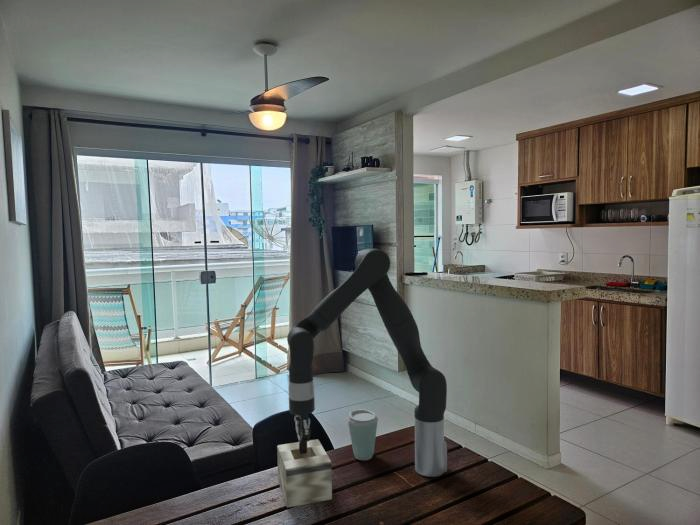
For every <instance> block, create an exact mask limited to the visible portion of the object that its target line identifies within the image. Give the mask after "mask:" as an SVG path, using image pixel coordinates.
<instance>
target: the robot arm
mask: <svg viewBox="0 0 700 525" xmlns="http://www.w3.org/2000/svg"><path fill="white" fill-rule="evenodd" d="M354 261H355V262H354V264H355V270H354V271H353V272H352V273H351V275H349V277H348V278H347V279H346V280H344V282H342V283H341V284H340V285H338V287H336V288H335V289H334V290H332V291H330V292H329V293H328V294H327V295H326V296H325V297H324V298H323V299H322V300H321V301H320V302H319V303H318V304H317V305H316V306H315V307H314V308H313V309H312V310H311V311H310V312H309V314H307V315H306V316H304V318H302V319H300V321H299V322H298V323H297V324H295V325H294V326H293V327H292V328H291V329H290V331H289V332H288V334H287V337H286V339H287V344H288V346H289V353H290V354H289V355H290V358H289V359H290V362H289V364H288V365H289V366H288V374H289V376H288V378H289V380H288V382H289V384H288V408H289V409H288V410H289V413H290V414H291V415H294V417H293V419H294V423H295V431H296V435H297V439H298V442H299V452H300V454H306V453H307V441H310V440H311V439H310V437H311V433H312V429H311V427H310V426H311V418H310V417H309V415H310V414H312V413H314V411H315V409H316V408H315V407H316V406H315V402H316V401H315V385H314V368H313V367H314V366H313V362H314V352H315V351H314V349H315V346H314V344H315V341H314V339H315V338H316V337H317V336H318V335H319V334H320V333H321V332H325V331H327V329H329V327H331V326H332V325H333V323H334V322H336V320H337V319H338V318H340V316H341V315H342V314H343V313H344V311H346V310H347V308H349V306H351V304H353V303H354V301H356V299H358V298H359V297H360V296H361V295H362V294H363V293H365V291H367V290H369V293H370V294H371V297H372V299H373V301H374V304H375V306H376V309H377V311H378V314H379V316H380V319H381V320H382V322H383V324H384V327H385V329H386V331H387V334H388V335H389V337H390V339H391V341H392V343H393V344H394V347H395V349H396V351H397V352H398V354H399V356H400V357H401V359H402V361H403V364H404V366H405V369H406V372H407V376H408V378H409V381H410V383H411V385H412V388H414V390H415V391H417V393H418V405H416V406H415V407H414V470H415V472H416V473H417V474H419V475H421V476H422V477H423V476H424V477H435V478H436V477H440V476H442V475H443V474H444V473H447V472H448V465H447V463H448V455H447V454H448V450H447V449H448V446H447V441H446V440H445V412H446V409H447V391H448V389H447V388H448V385H447V379H446V376H445V375H444V373H443V372H441V371H440V370H438V369H436V368H435V367H433V366H432V364H431V363H430V361H429V360H428V358H427V356H426V354H425V352H424V350H423V348H422V344H421V340H420V339H421V338H420V332H419V327H418V324H417V321H416V320H415V318H414V315H413V314H412V311H411V309H410V307H409V306H408V305H407V303H406V302H405V300H404V299H403V297H402V296H401V295H400V294H399V292H398V291H397V290H396V288H395V287H394V286H393V284H392V282H391V280H390V278H389V276H388V272H389V270H390V267H391V259H390V256H389V255H388V254H387V253H386V252H385V251H384V250H382V249H378V248H364V249H362V250H360V251H358V253H357V255H356V257H355V260H354Z"/></svg>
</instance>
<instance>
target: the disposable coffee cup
mask: <svg viewBox="0 0 700 525" xmlns="http://www.w3.org/2000/svg"><path fill="white" fill-rule="evenodd" d="M346 421H347V423H348V424H347V426H348V431H349V435H350V436H349V437H350V440H351V442H350V443H351V445H352V446H351V447H352V451H353V456H354V458H355V459H357V460H359V461H369V460H371V459H373V456H374V455H375V454H374V453H375V445H376V436H377V429H378V428H377V427H378V421H379V418H378V416H377V414H376V413H375V412H373V411H371V410H369V409H364V408H356V409H352V410H351V411H349V413H348V414H347V417H346Z"/></svg>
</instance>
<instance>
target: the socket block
mask: <svg viewBox="0 0 700 525" xmlns="http://www.w3.org/2000/svg"><path fill="white" fill-rule="evenodd" d="M276 450H277V453H276V454H277V480H278V484H279V487H280V490H281V494H282V497H283V500H284V503H285V505H286V506H285V507H286V508H292V507H298V506H302V505H303V506H304V505H309V504H314V503H320V502H324V501H330V500H332V499H333V483H332V482H333V481H332V469H333V464H332V460H331V458H330V457H329V455H328V454H327V452H326V451H325V449H324V447H323V445H322V443H321V441H320V440H319V439H309V441H307V453H306V454H300V452H299V441H297V442H290V443H284V444H278V445H277V446H276Z"/></svg>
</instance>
